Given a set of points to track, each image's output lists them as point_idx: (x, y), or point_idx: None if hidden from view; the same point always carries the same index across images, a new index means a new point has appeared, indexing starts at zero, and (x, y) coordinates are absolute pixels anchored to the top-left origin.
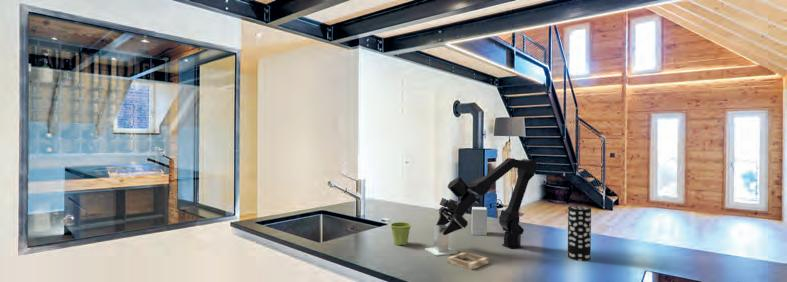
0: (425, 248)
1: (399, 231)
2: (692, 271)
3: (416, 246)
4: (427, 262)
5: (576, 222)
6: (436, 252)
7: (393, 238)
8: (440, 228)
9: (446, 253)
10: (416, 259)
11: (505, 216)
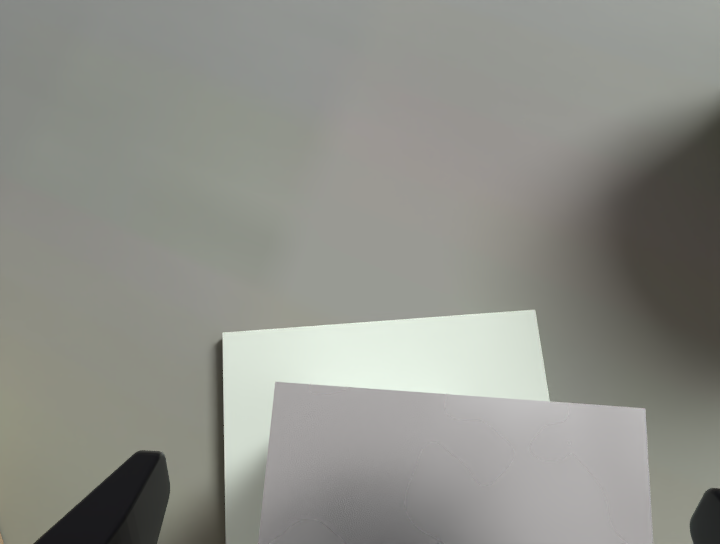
0: (525, 312)
1: None
2: None
3: (685, 263)
4: (62, 149)
5: None
6: (315, 376)
7: None
8: (268, 450)
9: (228, 490)
10: (200, 84)
11: None
